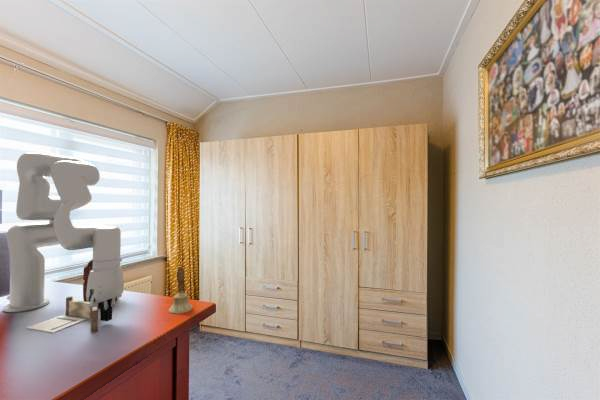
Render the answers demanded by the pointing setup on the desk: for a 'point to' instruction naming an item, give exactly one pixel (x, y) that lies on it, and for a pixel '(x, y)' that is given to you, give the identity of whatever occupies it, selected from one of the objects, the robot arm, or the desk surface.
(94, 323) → the fence panel
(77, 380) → the desk surface
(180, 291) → the hand bell
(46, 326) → the card
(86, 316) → the fence fixed
